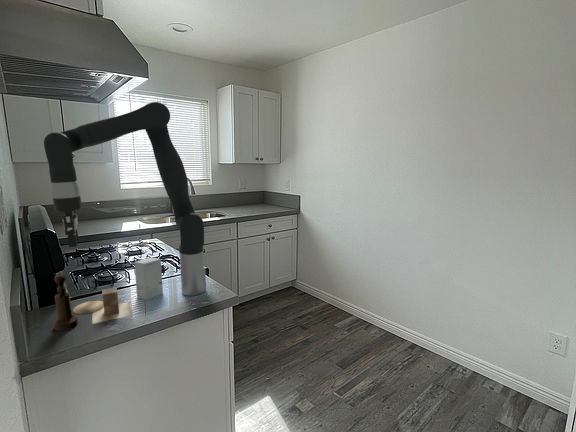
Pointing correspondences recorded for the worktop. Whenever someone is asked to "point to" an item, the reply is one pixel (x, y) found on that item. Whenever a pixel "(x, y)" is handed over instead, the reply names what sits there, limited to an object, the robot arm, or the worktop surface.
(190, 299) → the worktop surface
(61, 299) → the brown tall tapered piece
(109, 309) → the walnut block
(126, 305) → the tile
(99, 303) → the cork coaster
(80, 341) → the worktop surface
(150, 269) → the skincare box
